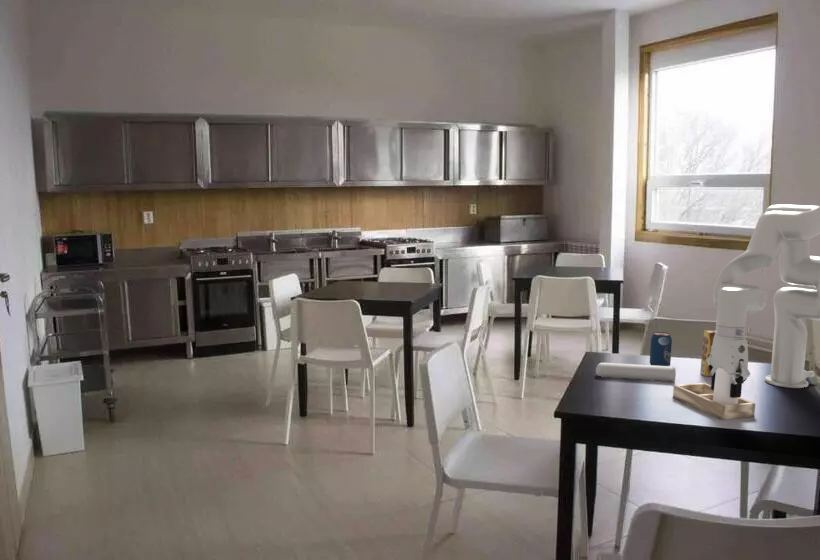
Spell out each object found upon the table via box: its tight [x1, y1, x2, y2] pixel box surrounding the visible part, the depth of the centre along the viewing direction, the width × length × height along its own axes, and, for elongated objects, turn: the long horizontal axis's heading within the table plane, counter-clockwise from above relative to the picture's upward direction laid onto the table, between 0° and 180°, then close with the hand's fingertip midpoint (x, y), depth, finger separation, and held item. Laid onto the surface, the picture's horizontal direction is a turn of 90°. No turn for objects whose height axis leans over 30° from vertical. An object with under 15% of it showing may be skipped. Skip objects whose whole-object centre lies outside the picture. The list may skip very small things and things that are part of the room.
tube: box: [595, 362, 677, 383], centre depth 235 cm, size 5×5×25 cm
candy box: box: [699, 329, 716, 377], centre depth 239 cm, size 9×4×15 cm, turn 93°
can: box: [713, 367, 738, 405], centre depth 200 cm, size 6×6×12 cm
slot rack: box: [672, 382, 756, 421], centre depth 206 cm, size 11×21×4 cm, turn 16°
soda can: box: [649, 331, 673, 366], centre depth 250 cm, size 7×7×12 cm
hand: (725, 392), depth 200 cm, fingers open, 7 cm apart
